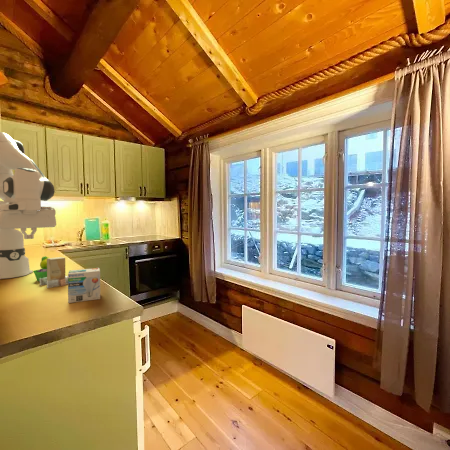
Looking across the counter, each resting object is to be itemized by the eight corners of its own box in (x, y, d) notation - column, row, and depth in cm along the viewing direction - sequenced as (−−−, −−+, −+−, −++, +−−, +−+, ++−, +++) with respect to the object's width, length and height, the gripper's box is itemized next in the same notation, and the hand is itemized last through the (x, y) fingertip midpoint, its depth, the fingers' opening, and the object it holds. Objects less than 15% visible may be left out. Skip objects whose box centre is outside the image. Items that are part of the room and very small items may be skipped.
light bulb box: (67, 303, 92) (67, 273, 92) (69, 298, 98) (68, 270, 98) (101, 299, 97) (100, 270, 97) (100, 294, 103) (99, 267, 103)
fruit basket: (40, 283, 120) (39, 259, 120) (31, 280, 125) (30, 257, 124) (65, 278, 130) (65, 255, 130) (56, 275, 135) (56, 254, 134)
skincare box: (50, 286, 114) (49, 259, 113) (46, 285, 116) (45, 258, 116) (66, 283, 119) (65, 257, 118) (62, 282, 121) (61, 256, 121)
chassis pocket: (35, 283, 120) (35, 277, 120) (65, 277, 130) (65, 271, 130) (52, 289, 109) (52, 282, 109) (84, 283, 120) (84, 276, 120)
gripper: (52, 206, 120) (53, 236, 120) (-6, 205, 103) (-4, 240, 104) (58, 206, 116) (59, 237, 117) (-1, 205, 99) (1, 241, 100)
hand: (29, 238), depth 110 cm, fingers closed
